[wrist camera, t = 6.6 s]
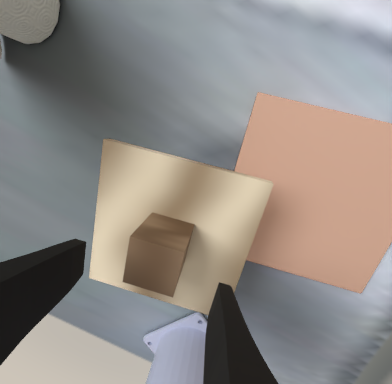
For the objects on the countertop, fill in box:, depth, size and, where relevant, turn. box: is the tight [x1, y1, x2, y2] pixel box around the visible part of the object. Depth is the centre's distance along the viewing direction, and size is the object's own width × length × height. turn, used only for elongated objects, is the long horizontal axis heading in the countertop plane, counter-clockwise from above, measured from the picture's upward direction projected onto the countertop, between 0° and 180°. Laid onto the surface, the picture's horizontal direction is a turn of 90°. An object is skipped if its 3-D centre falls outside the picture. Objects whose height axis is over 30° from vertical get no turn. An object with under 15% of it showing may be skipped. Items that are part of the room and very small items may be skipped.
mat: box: [234, 92, 392, 293], centre depth 18 cm, size 14×14×1 cm
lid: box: [89, 139, 273, 315], centre depth 14 cm, size 11×11×4 cm
